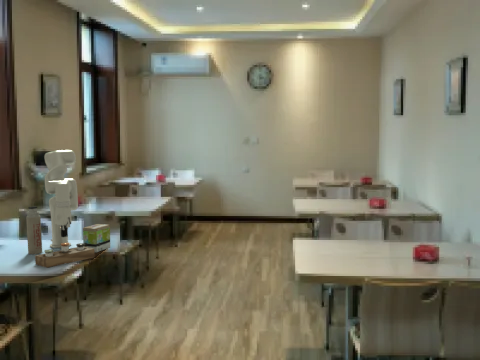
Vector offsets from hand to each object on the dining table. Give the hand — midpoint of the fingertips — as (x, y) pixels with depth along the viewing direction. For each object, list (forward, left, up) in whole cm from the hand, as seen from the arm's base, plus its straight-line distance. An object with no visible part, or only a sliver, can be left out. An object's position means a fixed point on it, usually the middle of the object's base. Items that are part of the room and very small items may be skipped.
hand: (64, 236), depth 317 cm
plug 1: (+1, -10, -13) cm, 17 cm away
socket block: (+1, 0, -14) cm, 14 cm away
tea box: (-9, +28, -14) cm, 32 cm away
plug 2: (+1, +10, -13) cm, 16 cm away
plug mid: (+1, 0, -11) cm, 11 cm away
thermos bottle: (-32, 0, -14) cm, 35 cm away
